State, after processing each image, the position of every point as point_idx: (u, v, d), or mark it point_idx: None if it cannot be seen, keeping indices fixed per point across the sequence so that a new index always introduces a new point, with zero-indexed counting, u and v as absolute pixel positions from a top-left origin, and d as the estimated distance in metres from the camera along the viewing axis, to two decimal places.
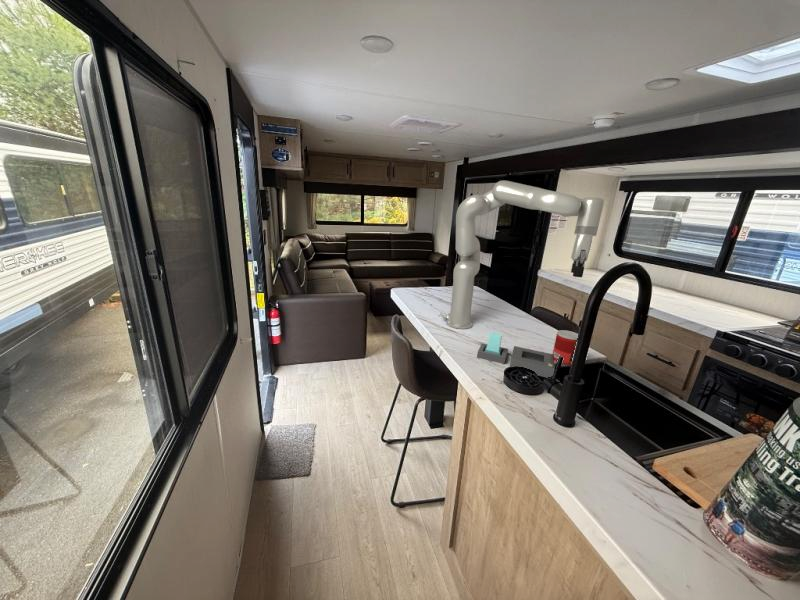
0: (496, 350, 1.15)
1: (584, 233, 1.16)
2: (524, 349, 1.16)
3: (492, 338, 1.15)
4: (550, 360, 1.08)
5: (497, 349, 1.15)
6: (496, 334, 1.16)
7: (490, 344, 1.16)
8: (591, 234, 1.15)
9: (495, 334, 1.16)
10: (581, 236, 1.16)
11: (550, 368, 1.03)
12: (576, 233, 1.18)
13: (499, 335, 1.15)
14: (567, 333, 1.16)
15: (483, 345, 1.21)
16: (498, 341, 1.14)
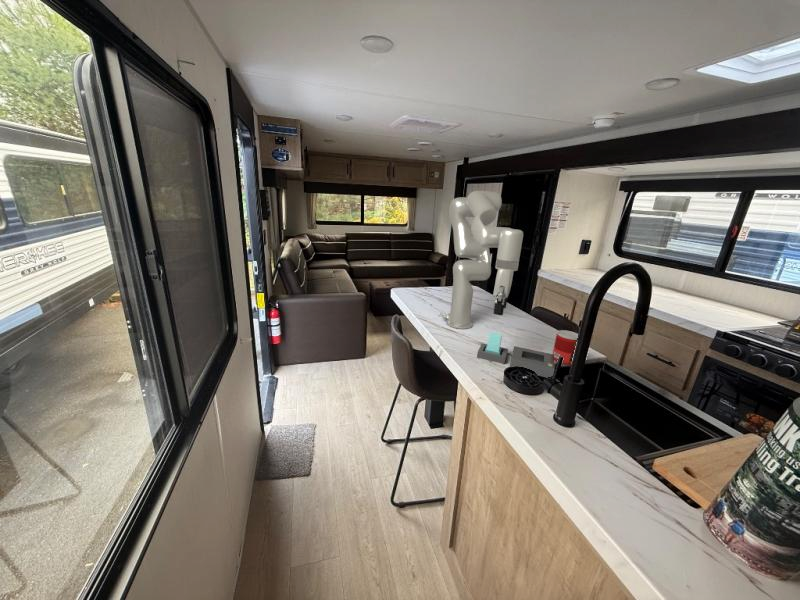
0: (496, 350, 1.15)
1: (503, 268, 1.06)
2: (524, 349, 1.16)
3: (492, 338, 1.15)
4: (550, 360, 1.08)
5: (497, 349, 1.15)
6: (496, 334, 1.16)
7: (490, 344, 1.16)
8: (510, 269, 1.05)
9: (495, 334, 1.16)
10: (500, 271, 1.06)
11: (550, 368, 1.03)
12: (496, 267, 1.08)
13: (499, 335, 1.15)
14: (567, 333, 1.16)
15: (483, 345, 1.21)
16: (498, 341, 1.14)
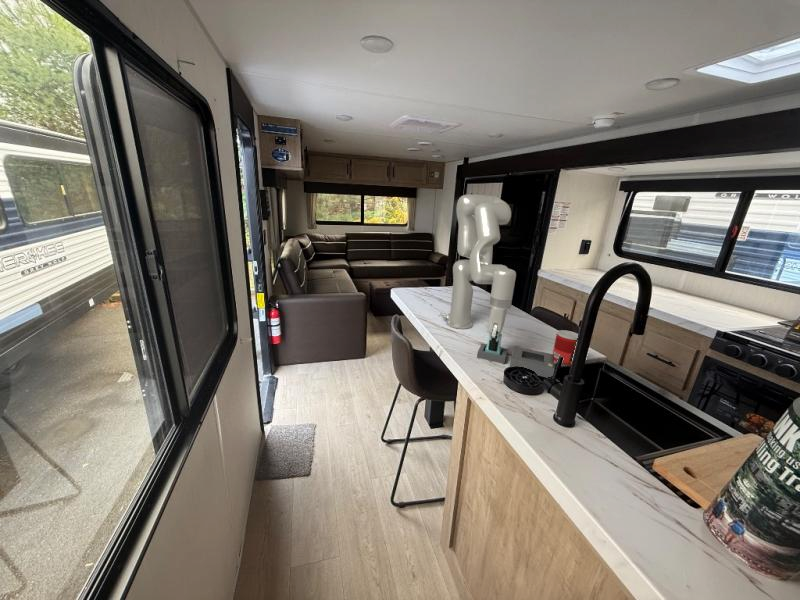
0: None
1: (496, 306, 1.09)
2: (524, 349, 1.16)
3: None
4: (550, 360, 1.08)
5: (497, 349, 1.15)
6: None
7: None
8: (503, 307, 1.09)
9: None
10: (493, 309, 1.09)
11: (550, 368, 1.03)
12: (490, 304, 1.12)
13: (499, 335, 1.15)
14: (567, 333, 1.16)
15: (483, 345, 1.21)
16: (498, 341, 1.14)
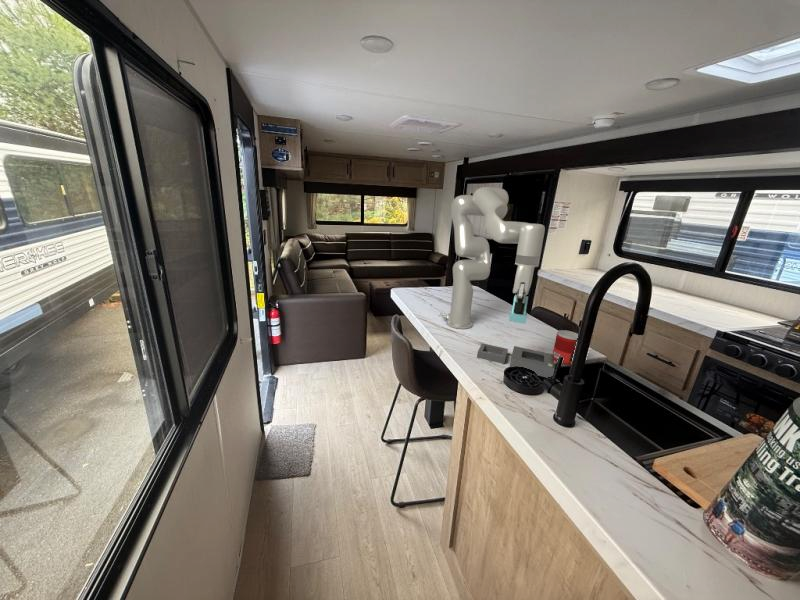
0: None
1: (523, 263, 1.02)
2: (524, 349, 1.16)
3: None
4: (550, 360, 1.08)
5: (523, 312, 1.07)
6: None
7: None
8: (531, 265, 1.01)
9: None
10: (520, 267, 1.02)
11: (550, 368, 1.03)
12: (516, 263, 1.04)
13: (525, 297, 1.07)
14: (567, 333, 1.16)
15: (483, 345, 1.21)
16: None
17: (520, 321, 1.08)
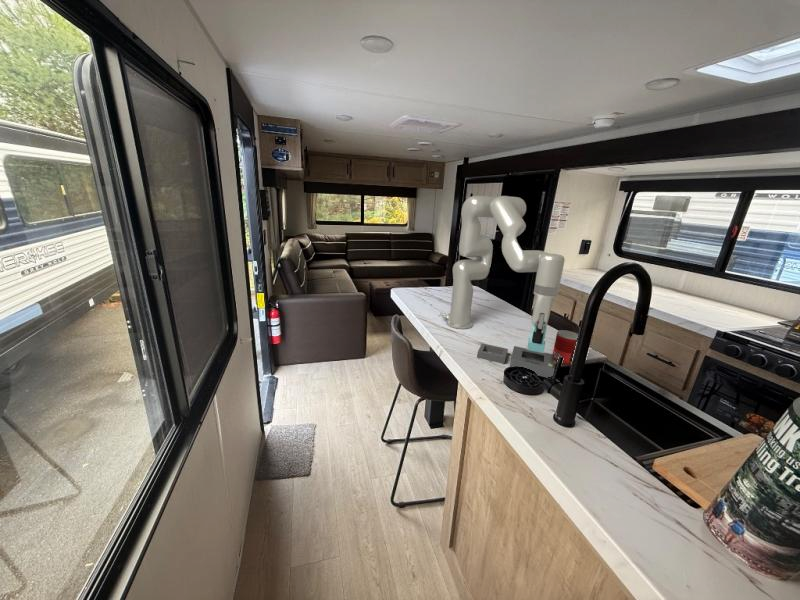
0: None
1: (543, 294, 1.01)
2: (524, 349, 1.16)
3: None
4: (550, 360, 1.08)
5: (542, 341, 1.07)
6: None
7: None
8: (551, 296, 1.00)
9: None
10: (540, 298, 1.01)
11: (550, 368, 1.03)
12: (535, 293, 1.04)
13: (544, 326, 1.07)
14: (567, 333, 1.16)
15: (483, 345, 1.21)
16: (543, 332, 1.06)
17: (539, 350, 1.07)
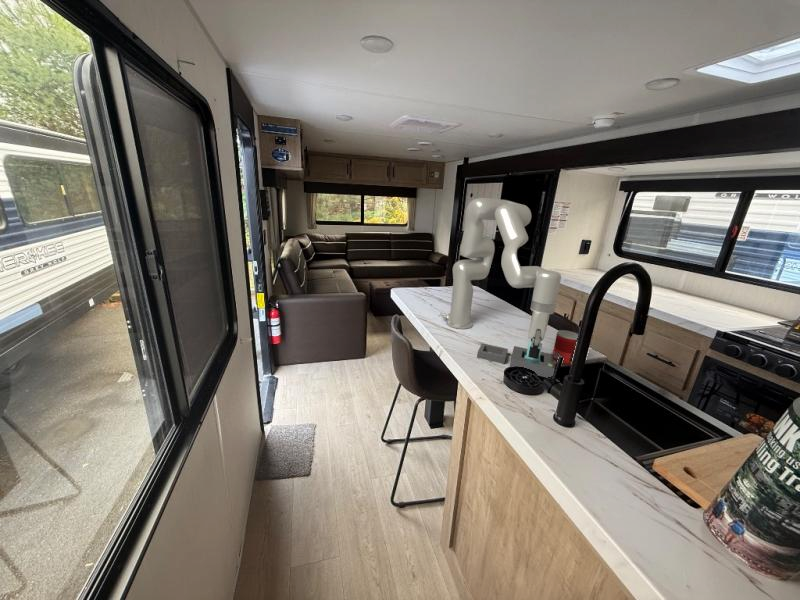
0: (536, 360, 1.09)
1: (540, 310, 1.03)
2: (524, 349, 1.16)
3: None
4: (550, 360, 1.08)
5: (537, 359, 1.09)
6: None
7: None
8: (547, 312, 1.02)
9: None
10: (536, 314, 1.03)
11: (550, 368, 1.03)
12: (532, 309, 1.05)
13: None
14: (567, 333, 1.16)
15: (483, 345, 1.21)
16: None
17: None
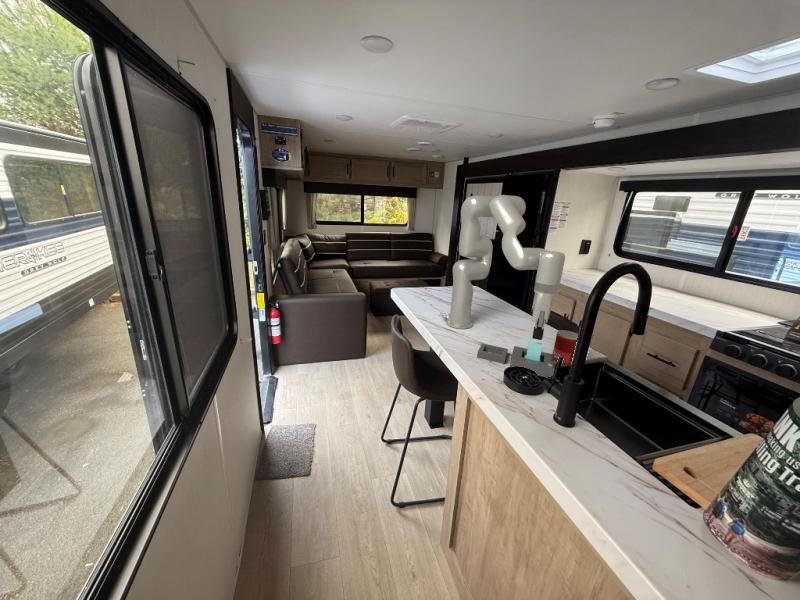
0: (536, 360, 1.09)
1: (543, 292, 1.01)
2: (524, 349, 1.16)
3: (532, 347, 1.09)
4: (550, 360, 1.08)
5: (537, 359, 1.09)
6: (537, 344, 1.09)
7: (529, 354, 1.10)
8: (551, 293, 1.00)
9: (535, 343, 1.10)
10: (540, 295, 1.01)
11: (550, 368, 1.03)
12: (535, 290, 1.03)
13: (539, 344, 1.09)
14: (567, 333, 1.16)
15: (483, 345, 1.21)
16: (539, 351, 1.08)
17: None
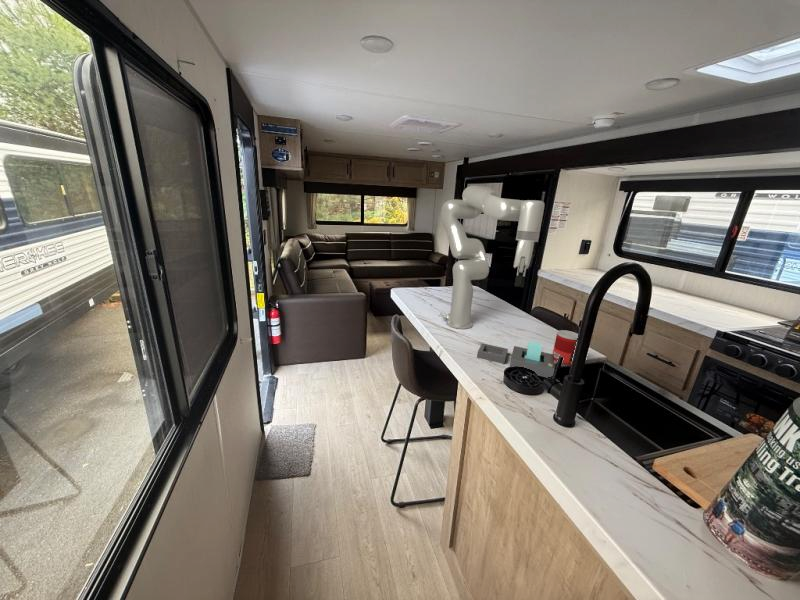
0: (536, 360, 1.09)
1: (524, 239, 1.07)
2: (524, 349, 1.16)
3: (532, 347, 1.09)
4: (550, 360, 1.08)
5: (537, 359, 1.09)
6: (537, 344, 1.09)
7: (529, 354, 1.10)
8: (531, 240, 1.06)
9: (535, 343, 1.10)
10: (521, 242, 1.07)
11: (550, 368, 1.03)
12: (517, 238, 1.09)
13: (539, 344, 1.09)
14: (567, 333, 1.16)
15: (483, 345, 1.21)
16: (539, 351, 1.08)
17: None
